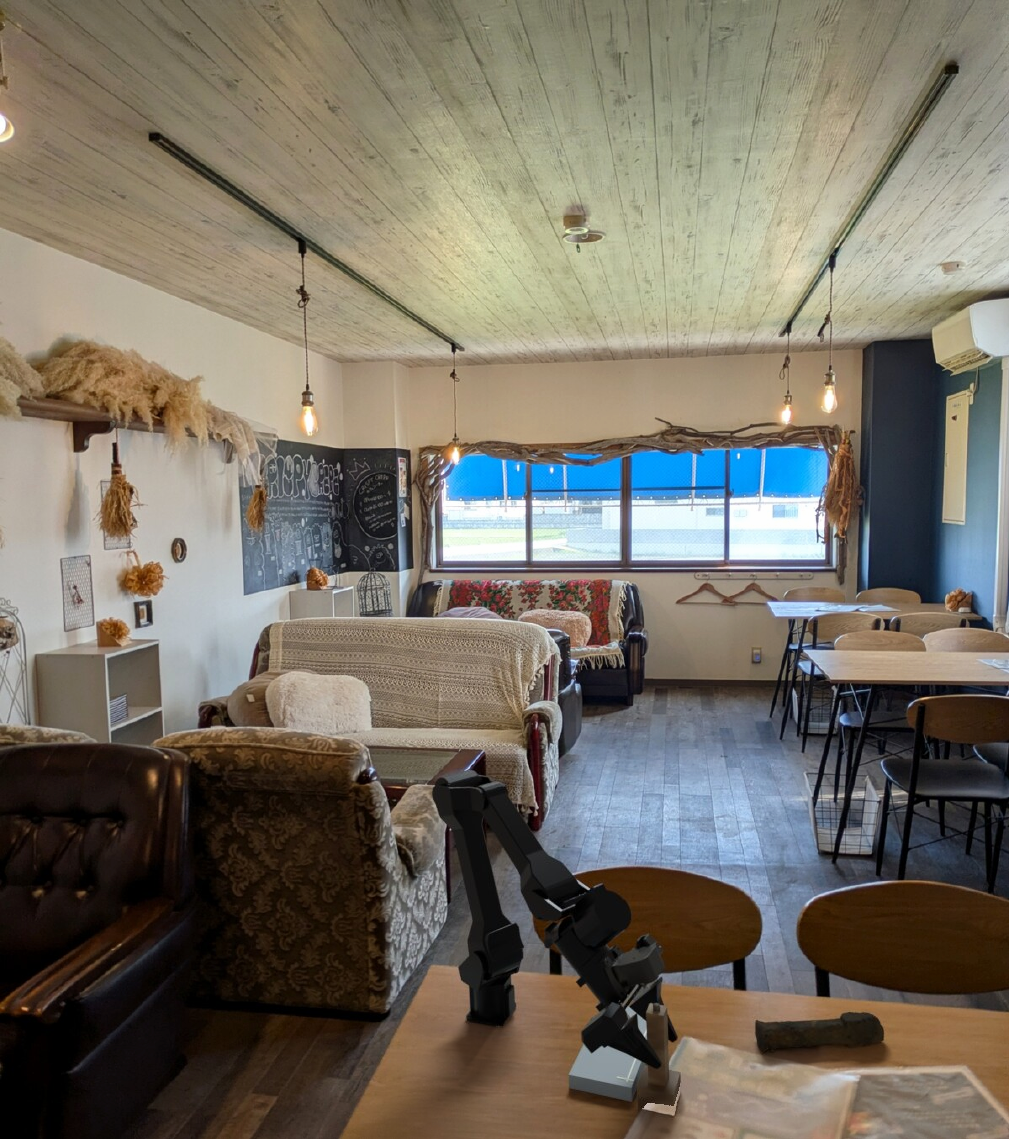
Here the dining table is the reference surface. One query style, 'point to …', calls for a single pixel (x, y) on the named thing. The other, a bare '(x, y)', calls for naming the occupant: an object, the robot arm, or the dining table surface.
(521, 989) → the dining table surface
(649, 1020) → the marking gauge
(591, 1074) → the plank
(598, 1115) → the dining table surface
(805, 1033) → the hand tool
